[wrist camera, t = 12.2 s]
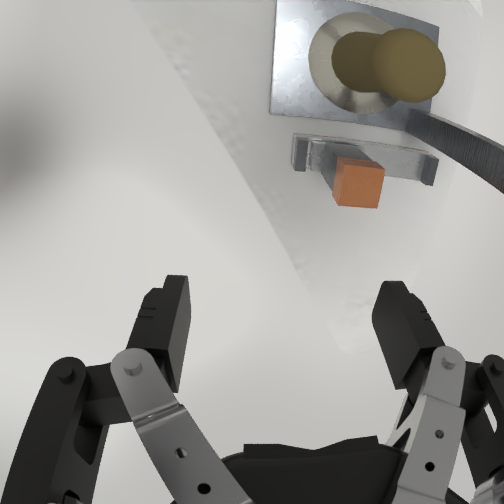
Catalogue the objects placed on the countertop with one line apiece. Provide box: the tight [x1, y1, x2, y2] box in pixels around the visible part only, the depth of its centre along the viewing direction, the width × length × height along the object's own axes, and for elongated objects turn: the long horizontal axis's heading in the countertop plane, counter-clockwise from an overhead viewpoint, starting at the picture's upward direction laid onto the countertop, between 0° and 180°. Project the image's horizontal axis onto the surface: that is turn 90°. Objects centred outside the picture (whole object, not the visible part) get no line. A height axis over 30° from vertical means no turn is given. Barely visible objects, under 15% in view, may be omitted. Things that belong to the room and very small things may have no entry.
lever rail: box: [291, 134, 439, 186], centre depth 30 cm, size 15×3×3 cm, turn 87°
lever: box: [309, 141, 385, 209], centre depth 26 cm, size 5×3×8 cm, turn 87°
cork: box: [331, 28, 446, 103], centre depth 20 cm, size 6×6×11 cm
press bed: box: [269, 0, 504, 194], centre depth 18 cm, size 16×12×18 cm
